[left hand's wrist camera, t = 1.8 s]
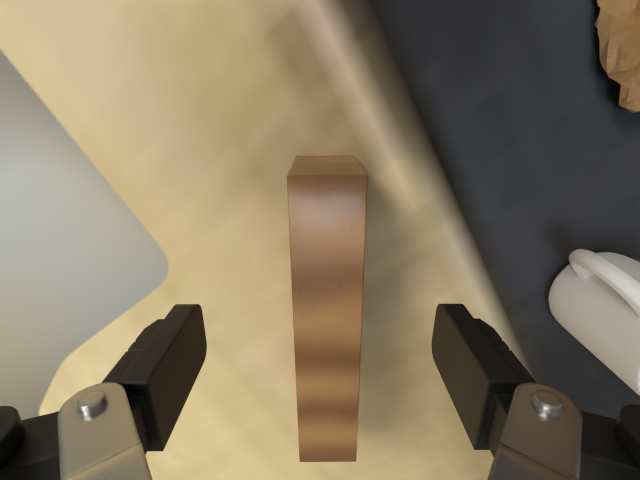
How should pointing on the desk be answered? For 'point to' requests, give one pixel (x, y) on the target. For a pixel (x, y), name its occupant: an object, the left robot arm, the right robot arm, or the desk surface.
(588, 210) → the desk surface
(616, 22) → the sculpture
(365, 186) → the bar
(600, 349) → the mug
